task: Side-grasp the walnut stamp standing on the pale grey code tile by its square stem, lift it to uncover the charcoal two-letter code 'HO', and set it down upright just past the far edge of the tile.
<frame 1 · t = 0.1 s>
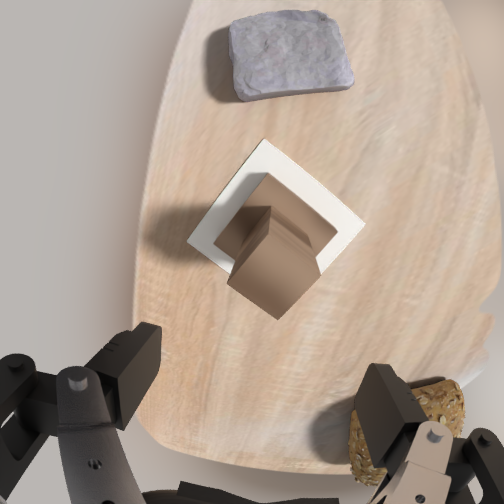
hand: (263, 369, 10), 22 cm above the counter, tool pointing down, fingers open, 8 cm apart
code tile: (275, 231, 31), on the counter
bread: (401, 421, 41), on the counter
stone block: (286, 55, 26), on the counter
walnut stamp: (275, 232, 31), resting on code tile
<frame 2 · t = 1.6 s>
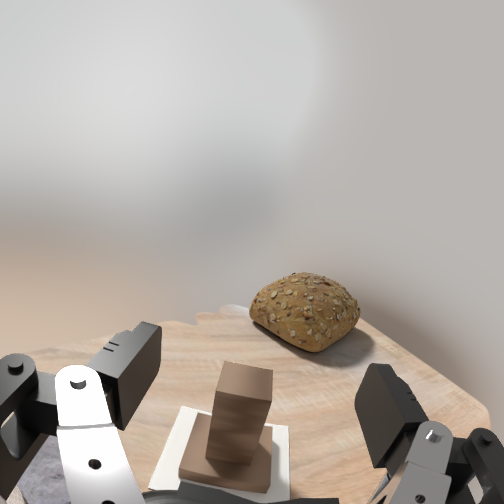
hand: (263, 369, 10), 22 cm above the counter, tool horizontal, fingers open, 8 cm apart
code tile: (227, 457, 27), on the counter
bread: (302, 327, 65), on the counter
stone block: (62, 479, 17), on the counter
walnut stamp: (227, 457, 27), resting on code tile
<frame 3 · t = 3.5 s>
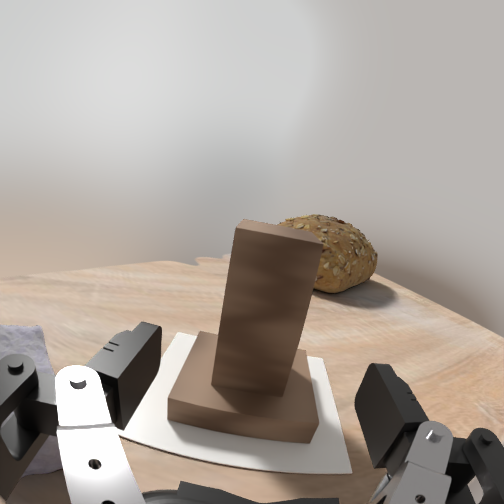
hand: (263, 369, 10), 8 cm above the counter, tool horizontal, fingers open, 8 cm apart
code tile: (244, 394, 20), on the counter
bread: (314, 275, 59), on the counter
walnut stamp: (244, 392, 20), resting on code tile
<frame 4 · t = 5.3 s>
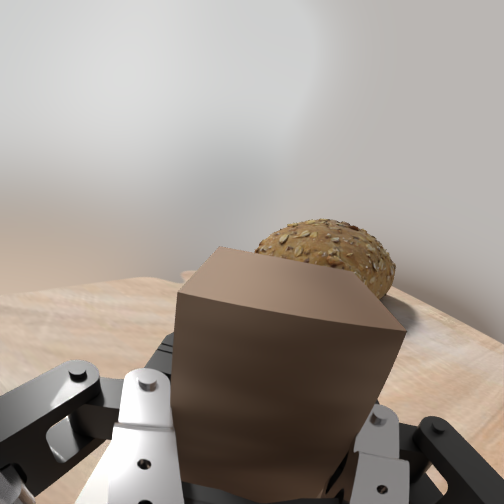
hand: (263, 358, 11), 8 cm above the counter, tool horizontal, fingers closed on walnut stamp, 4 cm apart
bread: (321, 292, 49), on the counter
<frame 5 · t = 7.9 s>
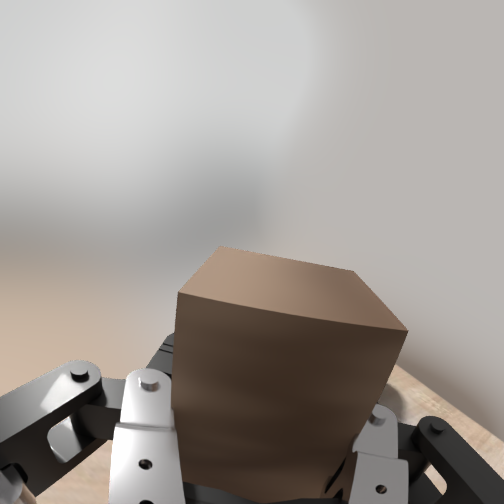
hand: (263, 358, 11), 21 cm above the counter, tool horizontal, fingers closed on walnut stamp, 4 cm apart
when the fingers open (9 cm above the counter, at t = 10.4 s): walnut stamp drops 2 cm, on the counter.
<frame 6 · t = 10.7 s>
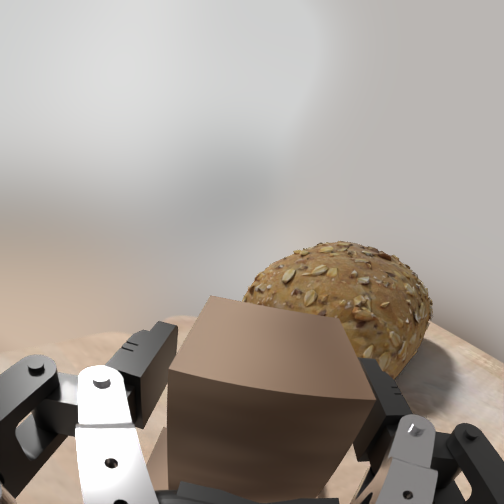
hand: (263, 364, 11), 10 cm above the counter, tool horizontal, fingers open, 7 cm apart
bread: (336, 338, 35), on the counter
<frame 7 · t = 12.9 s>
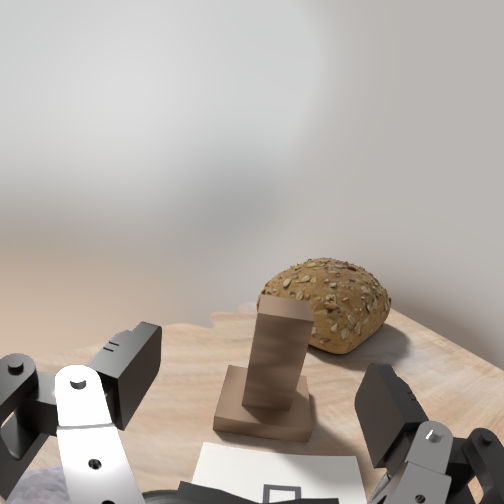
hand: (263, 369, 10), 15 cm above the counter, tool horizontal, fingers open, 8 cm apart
bread: (322, 324, 53), on the counter
walnut stamp: (262, 408, 28), on the counter
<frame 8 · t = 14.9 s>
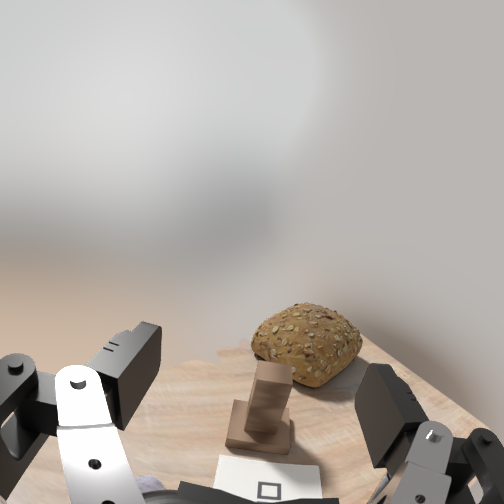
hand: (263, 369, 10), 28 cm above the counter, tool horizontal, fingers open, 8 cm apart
code tile: (268, 501, 26), on the counter
bread: (303, 358, 64), on the counter
walnut stamp: (257, 430, 39), on the counter
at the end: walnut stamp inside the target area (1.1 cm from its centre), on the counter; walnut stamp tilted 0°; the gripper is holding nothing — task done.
